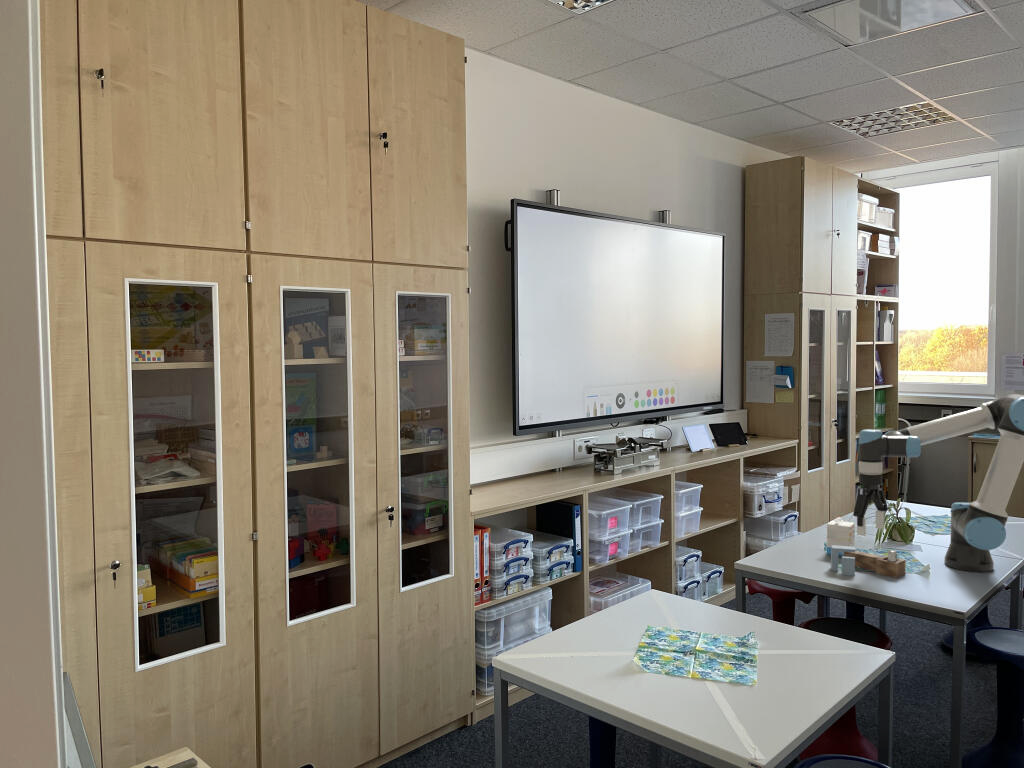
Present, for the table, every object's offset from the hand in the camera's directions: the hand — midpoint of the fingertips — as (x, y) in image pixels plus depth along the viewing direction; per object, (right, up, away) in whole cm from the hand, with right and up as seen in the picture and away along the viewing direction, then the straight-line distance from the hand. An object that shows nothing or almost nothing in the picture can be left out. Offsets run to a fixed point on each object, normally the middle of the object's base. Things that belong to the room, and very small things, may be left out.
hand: (870, 531), depth 265 cm
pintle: (+5, -14, -6) cm, 15 cm away
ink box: (-1, -13, +21) cm, 25 cm away
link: (+1, -13, 0) cm, 13 cm away
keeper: (-11, -14, -2) cm, 18 cm away
